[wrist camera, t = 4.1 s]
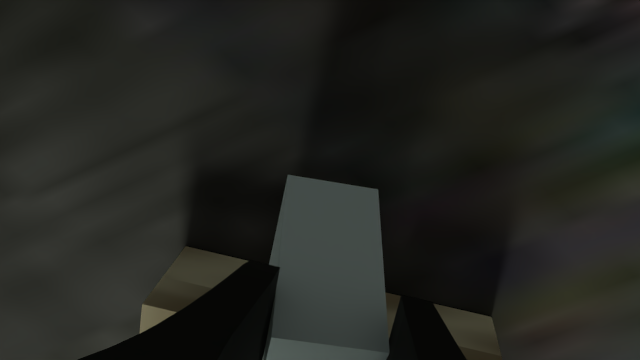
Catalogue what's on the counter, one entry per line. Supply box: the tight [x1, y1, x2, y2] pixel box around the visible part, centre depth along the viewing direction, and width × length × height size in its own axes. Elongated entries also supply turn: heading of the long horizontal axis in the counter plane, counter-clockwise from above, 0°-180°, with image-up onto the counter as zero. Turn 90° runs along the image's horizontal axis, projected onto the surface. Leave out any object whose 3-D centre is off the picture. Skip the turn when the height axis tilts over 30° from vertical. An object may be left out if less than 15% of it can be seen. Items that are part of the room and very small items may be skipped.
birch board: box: [140, 246, 502, 360], centre depth 18 cm, size 10×1×4 cm, turn 79°
